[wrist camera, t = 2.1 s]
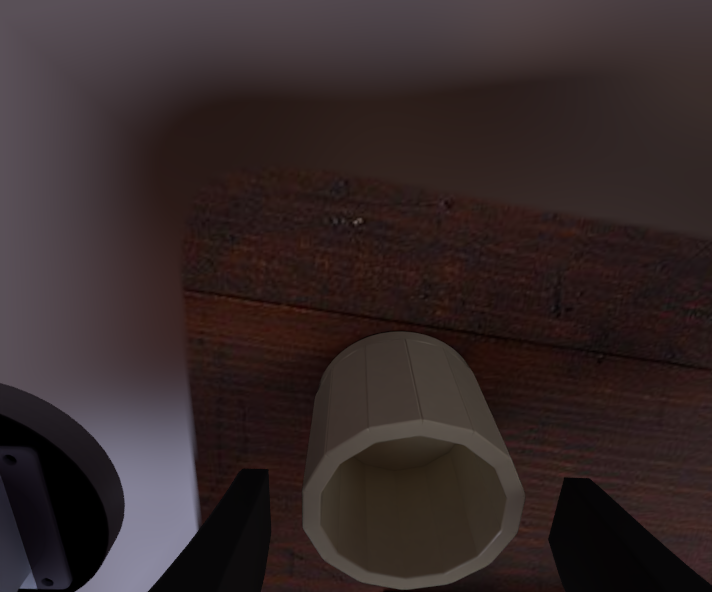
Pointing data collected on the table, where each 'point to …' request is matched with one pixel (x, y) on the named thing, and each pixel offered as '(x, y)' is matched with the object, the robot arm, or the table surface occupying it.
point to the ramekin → (407, 466)
